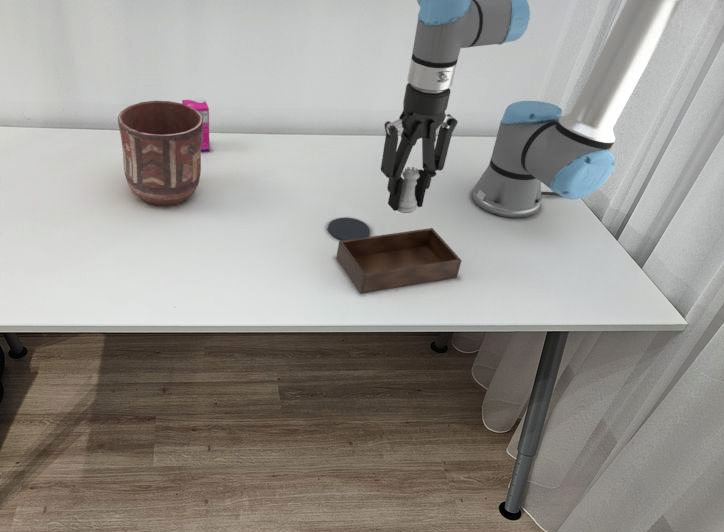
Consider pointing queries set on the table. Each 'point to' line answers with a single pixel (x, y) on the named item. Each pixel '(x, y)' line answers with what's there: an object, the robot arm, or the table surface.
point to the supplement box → (204, 111)
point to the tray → (397, 260)
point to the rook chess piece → (408, 191)
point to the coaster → (348, 229)
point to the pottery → (161, 150)
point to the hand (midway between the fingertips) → (404, 205)
